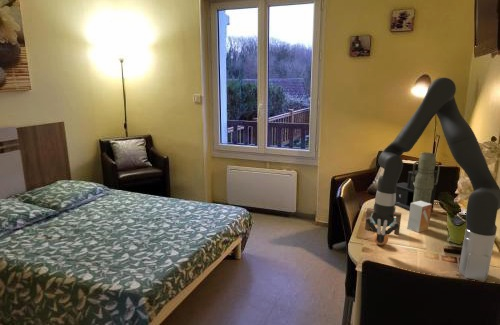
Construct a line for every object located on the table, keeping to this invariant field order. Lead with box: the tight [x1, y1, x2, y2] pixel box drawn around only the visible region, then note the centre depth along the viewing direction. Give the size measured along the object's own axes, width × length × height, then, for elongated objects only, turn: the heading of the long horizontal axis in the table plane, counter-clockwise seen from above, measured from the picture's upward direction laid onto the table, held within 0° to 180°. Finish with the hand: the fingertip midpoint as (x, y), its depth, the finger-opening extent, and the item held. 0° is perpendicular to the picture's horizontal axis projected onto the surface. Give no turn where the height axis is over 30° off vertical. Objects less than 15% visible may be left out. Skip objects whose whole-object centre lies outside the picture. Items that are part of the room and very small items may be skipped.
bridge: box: [364, 207, 402, 236], centre depth 171 cm, size 3×15×10 cm, turn 68°
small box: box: [406, 201, 432, 233], centre depth 174 cm, size 8×6×13 cm
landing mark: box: [371, 213, 396, 227], centre depth 184 cm, size 13×13×1 cm
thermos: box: [412, 152, 441, 203], centre depth 183 cm, size 9×12×35 cm
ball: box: [373, 230, 389, 246], centre depth 156 cm, size 6×6×6 cm
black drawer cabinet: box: [395, 170, 437, 213], centre depth 204 cm, size 23×11×24 cm, turn 25°
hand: (379, 242), depth 148 cm, fingers closed
